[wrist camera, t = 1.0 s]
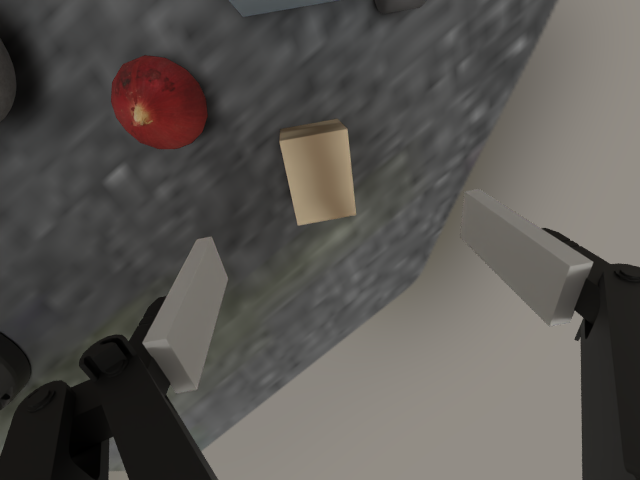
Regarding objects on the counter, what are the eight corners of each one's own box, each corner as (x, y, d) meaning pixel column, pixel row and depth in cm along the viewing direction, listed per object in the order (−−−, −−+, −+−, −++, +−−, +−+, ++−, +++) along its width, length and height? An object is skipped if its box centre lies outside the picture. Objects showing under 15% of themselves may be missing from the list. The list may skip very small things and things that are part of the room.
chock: (296, 202, 29) (297, 225, 25) (280, 128, 26) (279, 141, 22) (345, 193, 30) (356, 214, 25) (337, 118, 26) (347, 128, 22)
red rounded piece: (122, 75, 23) (52, 78, 16) (190, 44, 22) (148, 34, 15) (168, 148, 26) (125, 177, 19) (229, 122, 25) (208, 143, 18)
